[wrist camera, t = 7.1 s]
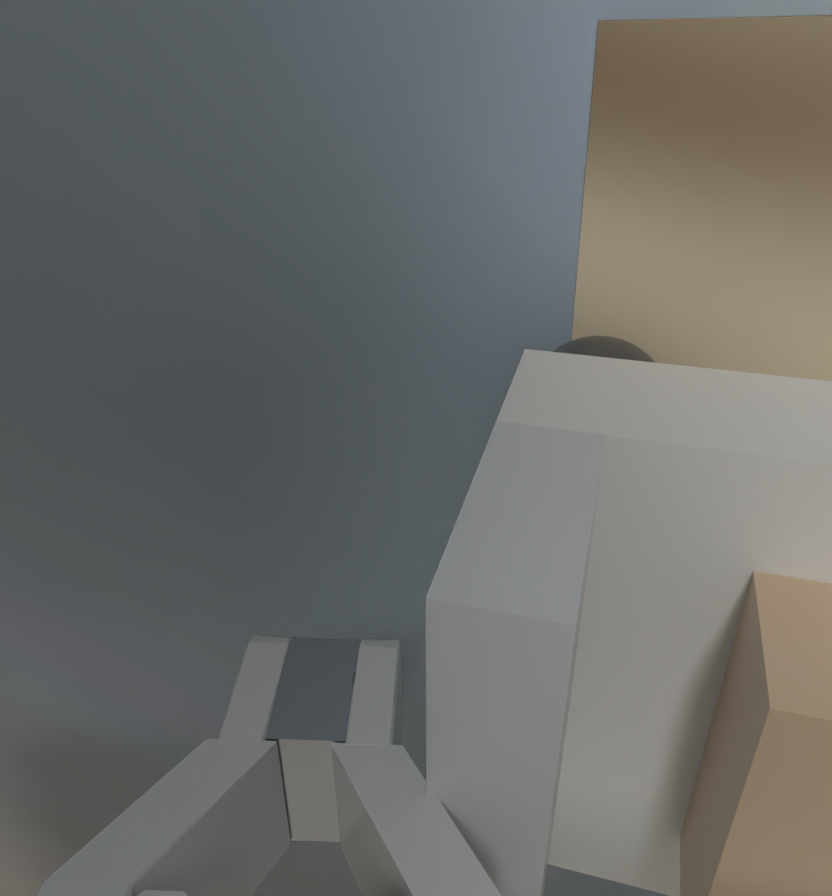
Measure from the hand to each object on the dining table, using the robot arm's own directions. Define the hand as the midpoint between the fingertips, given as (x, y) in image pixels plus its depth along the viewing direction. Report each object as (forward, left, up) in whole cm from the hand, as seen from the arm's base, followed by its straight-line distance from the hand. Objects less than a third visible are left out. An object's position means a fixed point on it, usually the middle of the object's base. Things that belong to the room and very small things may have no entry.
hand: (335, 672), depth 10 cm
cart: (+1, +8, -3) cm, 8 cm away
